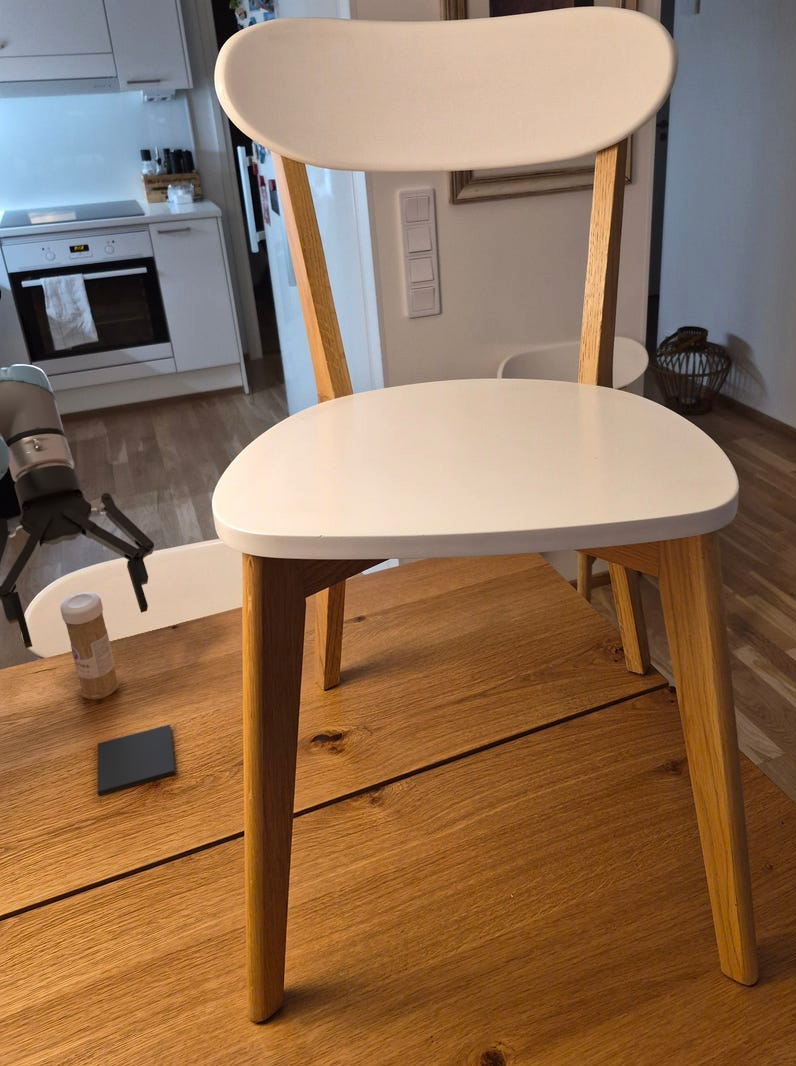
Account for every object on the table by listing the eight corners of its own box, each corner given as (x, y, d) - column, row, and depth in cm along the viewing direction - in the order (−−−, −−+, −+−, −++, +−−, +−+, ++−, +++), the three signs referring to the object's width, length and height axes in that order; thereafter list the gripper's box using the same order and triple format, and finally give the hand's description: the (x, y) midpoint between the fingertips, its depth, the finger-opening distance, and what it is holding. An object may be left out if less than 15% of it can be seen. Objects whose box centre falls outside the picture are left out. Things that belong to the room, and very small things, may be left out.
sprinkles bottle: (73, 694, 108) (51, 605, 103) (103, 673, 112) (82, 586, 106) (98, 705, 106) (77, 615, 101) (128, 684, 110) (108, 596, 104)
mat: (98, 795, 93) (97, 791, 93) (98, 746, 100) (97, 742, 99) (175, 774, 96) (174, 770, 95) (170, 728, 102) (169, 724, 102)
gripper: (-70, 488, 103) (-29, 654, 97) (144, 442, 115) (191, 587, 110) (-60, 510, 109) (-21, 667, 104) (142, 464, 121) (186, 602, 116)
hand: (88, 626), depth 107 cm, fingers open, 13 cm apart
